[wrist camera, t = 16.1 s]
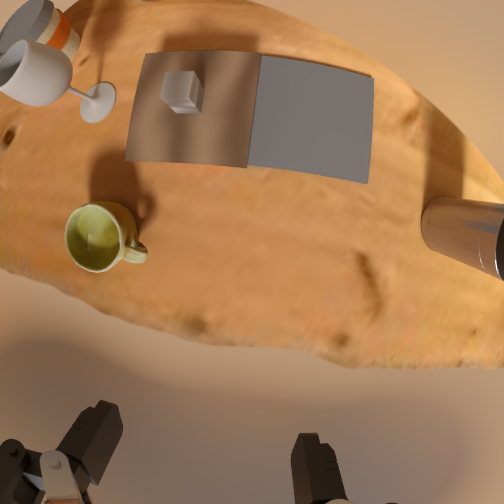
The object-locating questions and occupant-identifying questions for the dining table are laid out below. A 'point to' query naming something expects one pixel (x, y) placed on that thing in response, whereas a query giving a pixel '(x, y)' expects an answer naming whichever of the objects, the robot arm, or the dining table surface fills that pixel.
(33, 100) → the wineglass
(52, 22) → the reusable coffee cup
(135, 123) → the lid
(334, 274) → the dining table surface
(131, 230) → the mug
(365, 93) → the mat
